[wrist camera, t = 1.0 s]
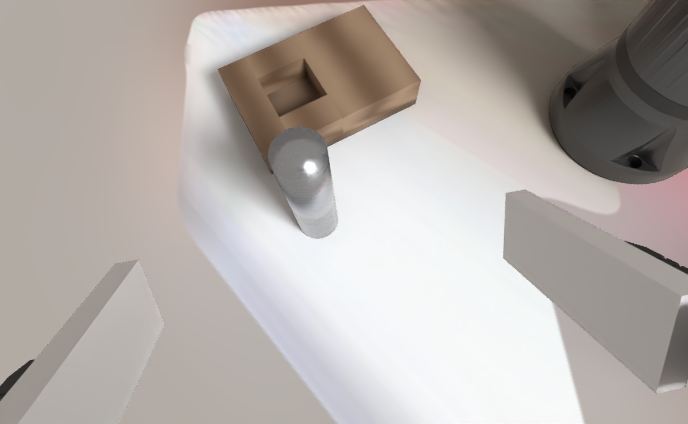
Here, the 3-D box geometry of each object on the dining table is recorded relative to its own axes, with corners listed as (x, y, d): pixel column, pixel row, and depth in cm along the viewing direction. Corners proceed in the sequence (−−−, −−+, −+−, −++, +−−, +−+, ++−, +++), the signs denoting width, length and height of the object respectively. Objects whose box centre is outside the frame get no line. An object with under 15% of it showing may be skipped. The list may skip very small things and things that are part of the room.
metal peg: (326, 194, 39) (310, 117, 26) (344, 226, 38) (337, 162, 25) (292, 212, 39) (258, 142, 26) (309, 245, 37) (283, 189, 24)
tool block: (363, 32, 46) (363, 4, 43) (415, 103, 43) (420, 80, 39) (229, 93, 44) (217, 69, 40) (271, 174, 40) (263, 156, 36)
